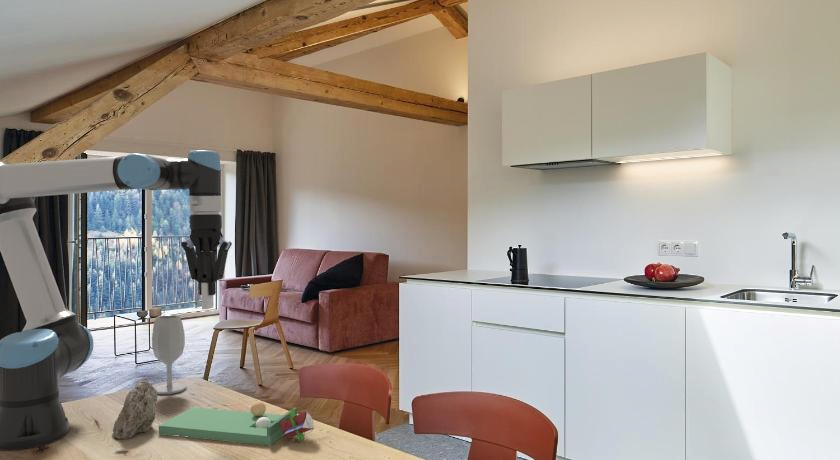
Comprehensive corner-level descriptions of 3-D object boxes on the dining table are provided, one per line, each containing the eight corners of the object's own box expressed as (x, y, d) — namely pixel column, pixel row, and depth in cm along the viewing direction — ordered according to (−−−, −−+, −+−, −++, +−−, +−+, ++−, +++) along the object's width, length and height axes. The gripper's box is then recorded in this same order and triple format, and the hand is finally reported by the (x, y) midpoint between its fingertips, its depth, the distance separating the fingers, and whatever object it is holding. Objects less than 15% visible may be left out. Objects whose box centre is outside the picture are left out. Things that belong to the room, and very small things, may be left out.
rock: (156, 412, 137) (118, 403, 135) (142, 451, 139) (105, 443, 137) (168, 381, 150) (134, 373, 148) (156, 418, 152) (122, 410, 150)
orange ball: (247, 418, 145) (247, 403, 145) (255, 413, 148) (255, 398, 148) (261, 419, 144) (261, 404, 144) (268, 414, 147) (268, 399, 147)
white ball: (261, 417, 139) (269, 430, 139) (268, 412, 143) (276, 425, 142) (249, 424, 140) (257, 438, 140) (257, 419, 143) (265, 432, 143)
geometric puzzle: (268, 435, 133) (290, 406, 133) (276, 424, 140) (297, 396, 140) (295, 455, 133) (317, 426, 133) (302, 443, 140) (322, 415, 140)
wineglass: (145, 393, 171) (143, 318, 170) (167, 385, 179) (166, 313, 178) (171, 396, 168) (169, 320, 167) (192, 387, 176) (191, 314, 176)
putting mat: (158, 434, 140) (158, 416, 140) (193, 415, 153) (193, 399, 153) (270, 445, 133) (270, 427, 133) (297, 424, 146) (296, 407, 146)
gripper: (173, 213, 151) (175, 309, 152) (220, 213, 147) (222, 311, 148) (191, 213, 158) (193, 305, 159) (237, 213, 155) (239, 306, 156)
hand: (207, 308), depth 154 cm, fingers closed
